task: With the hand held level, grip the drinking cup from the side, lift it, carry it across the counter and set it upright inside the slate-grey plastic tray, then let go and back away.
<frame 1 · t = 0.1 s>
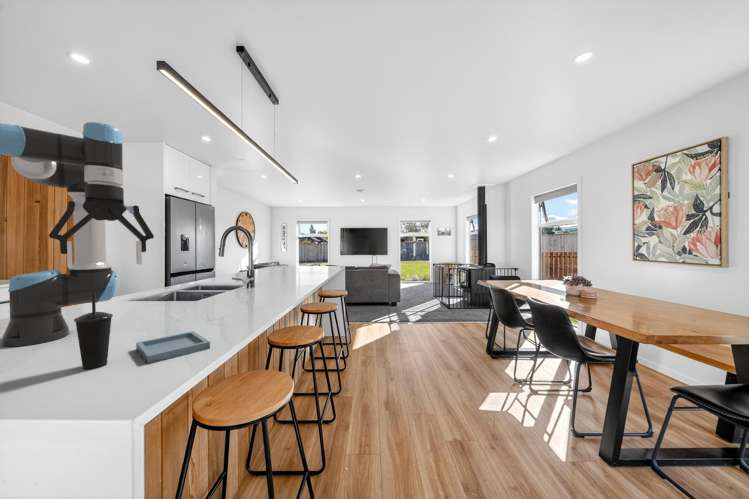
hand: (106, 265, 78), 28 cm above the worktop, tool pointing down, fingers open, 13 cm apart
slate tray: (173, 348, 93), on the worktop
drinking cup: (95, 366, 80), on the worktop
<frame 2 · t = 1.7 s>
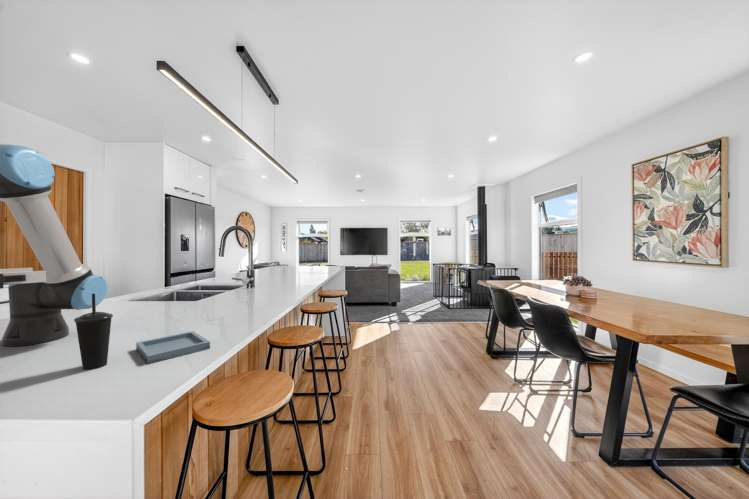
hand: (39, 274, 75), 26 cm above the worktop, tool horizontal, fingers open, 13 cm apart
nothing on the worktop moved.
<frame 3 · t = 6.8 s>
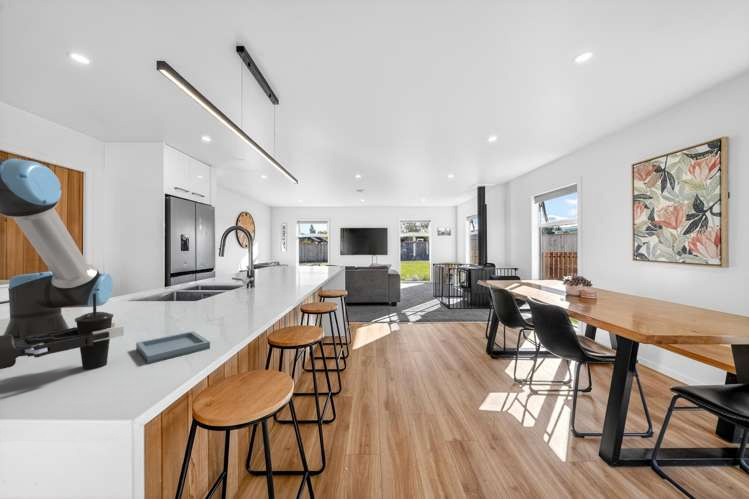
hand: (118, 328, 84), 9 cm above the worktop, tool horizontal, fingers closed on drinking cup, 6 cm apart
drinking cup: (95, 366, 80), on the worktop, touching gripper
when the fingers open (11 cm above the worktop, at t = 12.4 s): drinking cup drops 1 cm, resting on slate tray.
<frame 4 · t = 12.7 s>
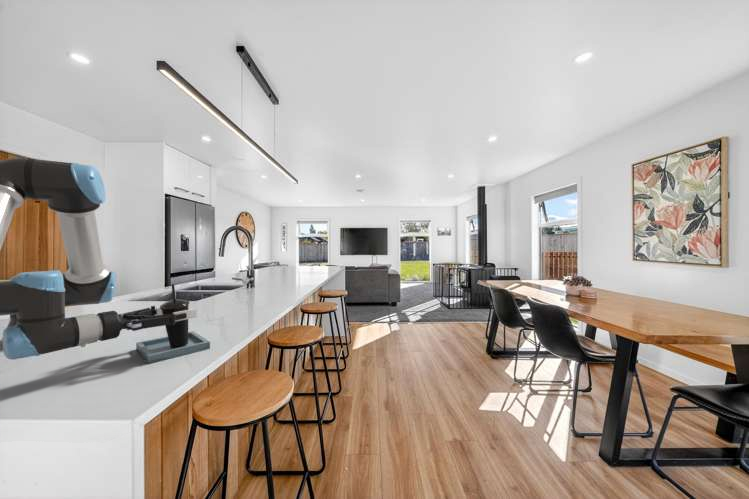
hand: (187, 310, 96), 11 cm above the worktop, tool horizontal, fingers open, 10 cm apart
drinking cup: (179, 345, 94), point 1 cm above the worktop, touching slate tray
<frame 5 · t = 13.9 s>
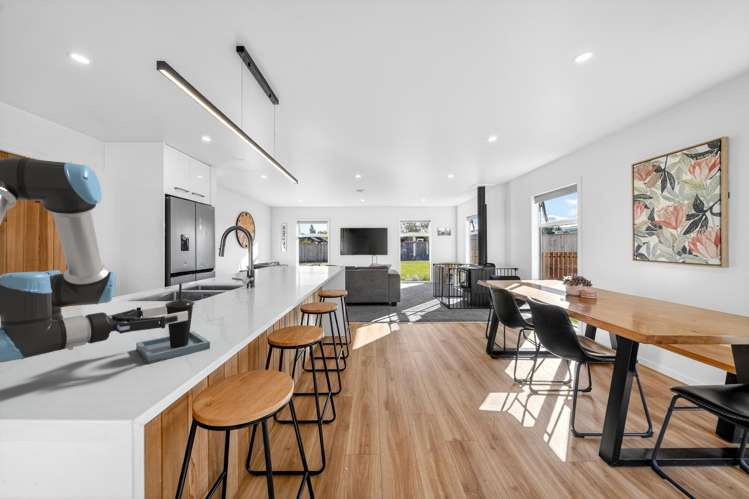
hand: (176, 312, 93), 12 cm above the worktop, tool horizontal, fingers open, 13 cm apart
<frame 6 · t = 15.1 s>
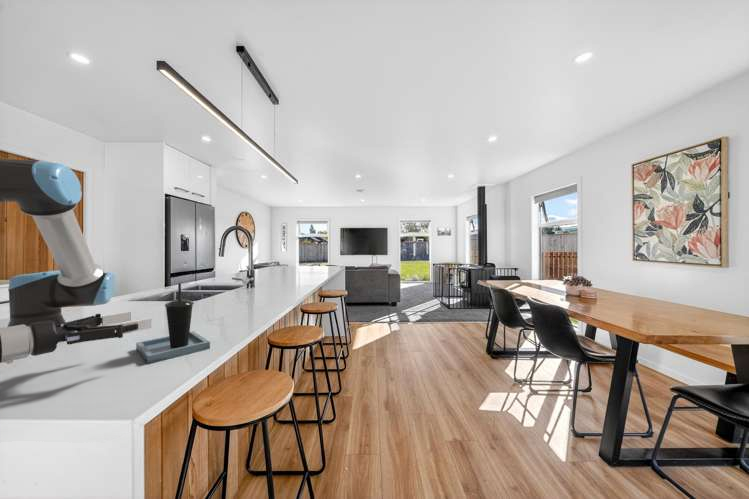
hand: (140, 319, 85), 12 cm above the worktop, tool horizontal, fingers open, 13 cm apart
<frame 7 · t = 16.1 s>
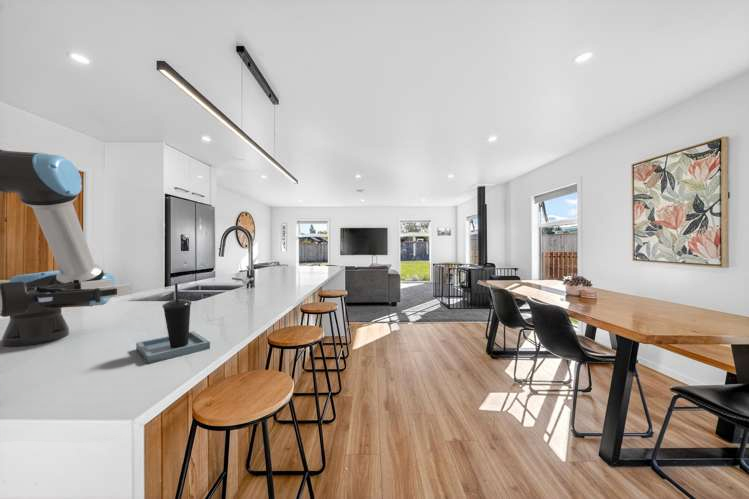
hand: (121, 286, 82), 22 cm above the worktop, tool horizontal, fingers open, 13 cm apart
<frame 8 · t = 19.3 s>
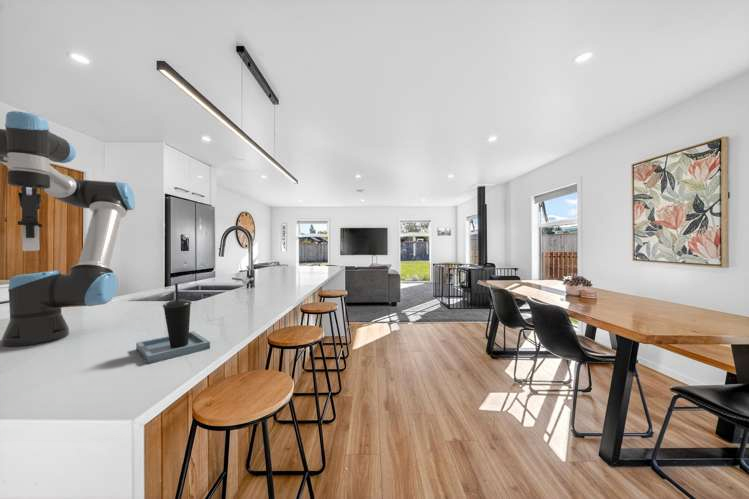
hand: (31, 250, 80), 32 cm above the worktop, tool pointing down, fingers open, 13 cm apart
at the end: drinking cup inside the target area on the slate tray (1.6 cm from its centre), point 0.7 cm above the slate tray's base; drinking cup tilted 2°; the gripper is holding nothing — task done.
